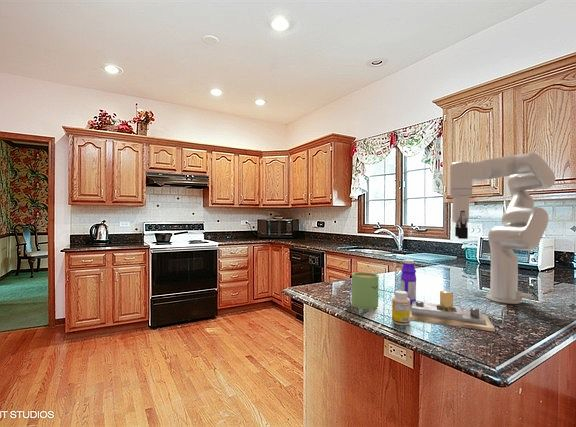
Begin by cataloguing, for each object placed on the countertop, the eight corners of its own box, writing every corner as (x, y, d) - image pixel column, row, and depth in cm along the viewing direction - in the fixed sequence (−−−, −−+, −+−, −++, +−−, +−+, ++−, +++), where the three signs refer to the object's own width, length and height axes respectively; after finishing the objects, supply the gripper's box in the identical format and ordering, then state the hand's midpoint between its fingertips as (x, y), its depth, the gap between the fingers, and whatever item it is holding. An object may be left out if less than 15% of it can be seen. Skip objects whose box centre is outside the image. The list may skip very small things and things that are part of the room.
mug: (374, 311, 113) (375, 278, 113) (347, 306, 119) (348, 275, 119) (383, 303, 124) (384, 273, 124) (358, 298, 130) (359, 270, 130)
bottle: (417, 305, 121) (418, 261, 121) (402, 304, 122) (403, 260, 122) (413, 300, 128) (414, 258, 128) (399, 299, 130) (400, 258, 130)
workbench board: (486, 317, 107) (486, 315, 107) (494, 331, 95) (494, 328, 95) (407, 307, 118) (407, 305, 118) (405, 318, 105) (405, 315, 105)
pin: (452, 314, 107) (452, 291, 108) (453, 317, 104) (453, 294, 104) (439, 312, 109) (439, 290, 109) (440, 316, 105) (440, 292, 105)
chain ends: (481, 316, 106) (481, 306, 106) (485, 324, 98) (486, 314, 98) (412, 307, 115) (412, 298, 115) (411, 314, 107) (411, 304, 107)
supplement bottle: (395, 318, 105) (396, 289, 105) (412, 322, 101) (412, 291, 101) (389, 323, 101) (389, 291, 101) (406, 327, 97) (406, 295, 97)
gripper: (448, 195, 129) (448, 235, 129) (452, 192, 113) (452, 239, 113) (469, 194, 126) (469, 236, 126) (475, 192, 110) (476, 239, 110)
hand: (461, 237), depth 120 cm, fingers open, 9 cm apart
